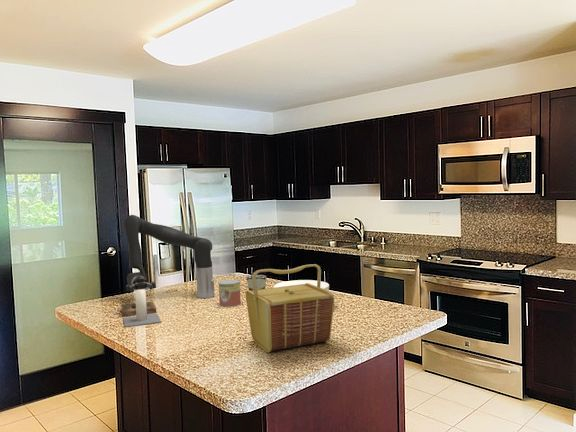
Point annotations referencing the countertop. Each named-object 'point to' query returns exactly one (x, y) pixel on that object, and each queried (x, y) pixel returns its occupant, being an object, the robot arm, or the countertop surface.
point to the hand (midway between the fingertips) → (142, 289)
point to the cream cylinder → (141, 305)
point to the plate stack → (298, 282)
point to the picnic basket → (289, 313)
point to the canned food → (229, 293)
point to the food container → (259, 282)
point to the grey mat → (133, 321)
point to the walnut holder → (131, 309)
